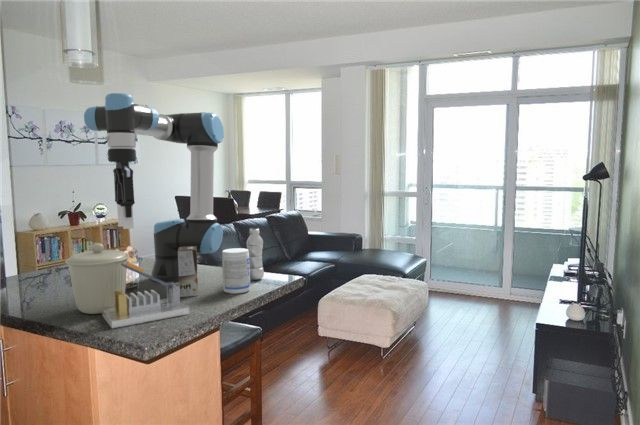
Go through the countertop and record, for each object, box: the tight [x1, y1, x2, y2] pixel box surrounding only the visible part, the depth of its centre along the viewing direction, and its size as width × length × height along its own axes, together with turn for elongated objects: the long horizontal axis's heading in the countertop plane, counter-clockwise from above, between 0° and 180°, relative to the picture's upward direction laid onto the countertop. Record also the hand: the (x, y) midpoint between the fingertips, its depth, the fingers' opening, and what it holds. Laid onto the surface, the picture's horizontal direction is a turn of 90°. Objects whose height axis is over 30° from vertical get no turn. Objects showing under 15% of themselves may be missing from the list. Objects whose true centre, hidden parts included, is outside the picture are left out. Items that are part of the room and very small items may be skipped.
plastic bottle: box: [246, 227, 265, 281], centre depth 189 cm, size 6×7×20 cm
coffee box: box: [178, 246, 199, 298], centre depth 171 cm, size 9×6×16 cm
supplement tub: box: [221, 247, 251, 295], centre depth 173 cm, size 10×10×15 cm
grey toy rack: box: [101, 282, 190, 329], centre depth 147 cm, size 14×22×8 cm, turn 124°
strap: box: [121, 260, 176, 290], centre depth 147 cm, size 3×18×2 cm
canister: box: [64, 242, 130, 315], centre depth 152 cm, size 18×18×21 cm
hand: (125, 227), depth 144 cm, fingers open, 6 cm apart
